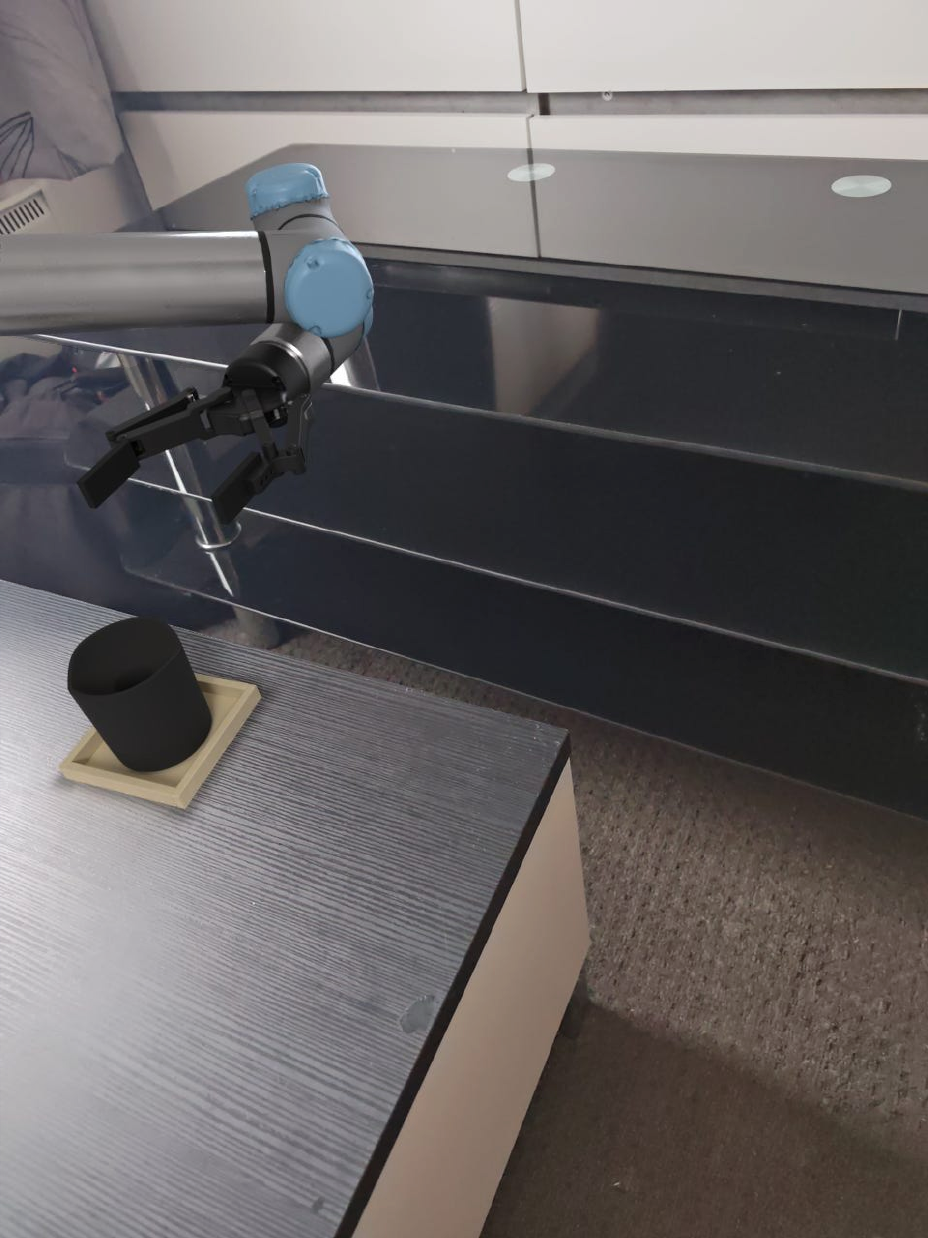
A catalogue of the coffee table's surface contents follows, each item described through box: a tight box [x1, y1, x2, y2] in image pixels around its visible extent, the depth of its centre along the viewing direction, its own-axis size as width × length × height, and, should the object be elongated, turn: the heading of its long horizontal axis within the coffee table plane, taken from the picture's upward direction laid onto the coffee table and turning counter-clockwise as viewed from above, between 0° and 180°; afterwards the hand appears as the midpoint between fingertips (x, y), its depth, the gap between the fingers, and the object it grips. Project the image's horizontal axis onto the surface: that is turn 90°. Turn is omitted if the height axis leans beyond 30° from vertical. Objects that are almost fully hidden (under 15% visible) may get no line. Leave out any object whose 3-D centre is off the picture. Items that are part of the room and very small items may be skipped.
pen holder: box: [66, 616, 212, 772], centre depth 78 cm, size 9×9×10 cm
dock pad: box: [58, 672, 263, 810], centre depth 81 cm, size 13×13×2 cm
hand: (150, 503), depth 75 cm, fingers open, 13 cm apart
